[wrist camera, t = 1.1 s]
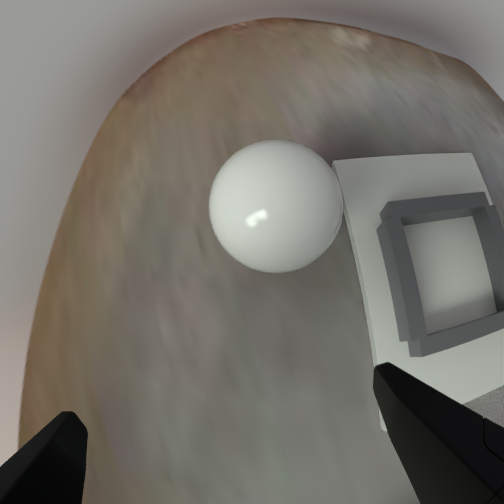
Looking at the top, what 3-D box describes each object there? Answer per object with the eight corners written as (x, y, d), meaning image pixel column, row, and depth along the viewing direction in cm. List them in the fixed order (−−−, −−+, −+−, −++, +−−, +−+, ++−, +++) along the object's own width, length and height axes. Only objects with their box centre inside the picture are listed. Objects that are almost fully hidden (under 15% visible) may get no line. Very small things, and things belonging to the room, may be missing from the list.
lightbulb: (251, 200, 24) (233, 98, 13) (332, 228, 23) (370, 137, 12) (216, 278, 22) (167, 216, 12) (302, 311, 21) (329, 276, 11)
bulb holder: (520, 371, 18) (542, 371, 15) (380, 428, 18) (395, 438, 16) (467, 158, 24) (481, 141, 21) (331, 167, 24) (337, 145, 21)
